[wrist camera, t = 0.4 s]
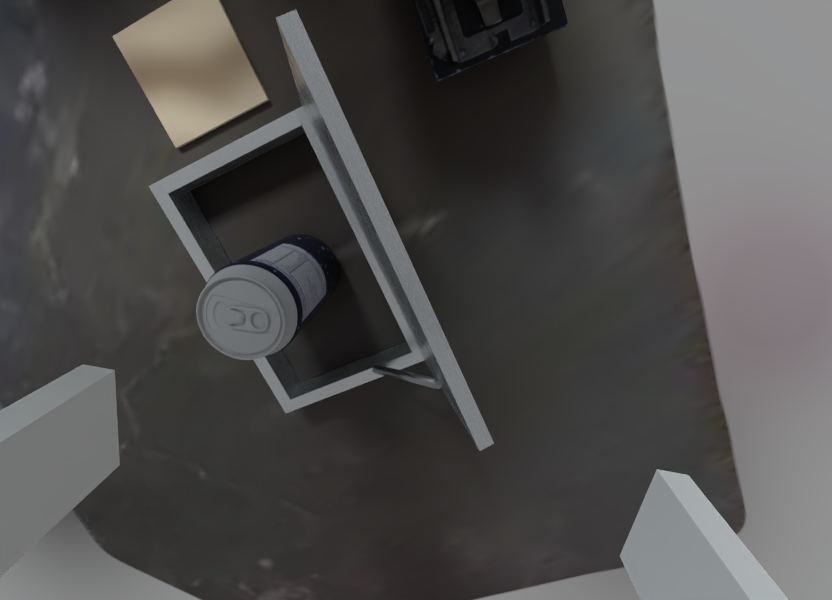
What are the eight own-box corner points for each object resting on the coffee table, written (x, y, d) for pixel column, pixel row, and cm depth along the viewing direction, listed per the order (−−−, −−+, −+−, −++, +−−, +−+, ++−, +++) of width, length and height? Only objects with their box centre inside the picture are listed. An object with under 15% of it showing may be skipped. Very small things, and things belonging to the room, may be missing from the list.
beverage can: (272, 228, 33) (186, 261, 22) (343, 237, 33) (294, 275, 22) (271, 296, 35) (190, 359, 24) (339, 305, 35) (290, 373, 24)
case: (172, 184, 33) (-46, 200, 18) (365, 84, 30) (294, 7, 15) (296, 395, 38) (206, 542, 23) (471, 328, 35) (494, 446, 20)
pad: (116, 38, 30) (112, 36, 29) (210, -19, 28) (207, -22, 28) (179, 148, 32) (176, 147, 31) (269, 99, 30) (267, 99, 30)
